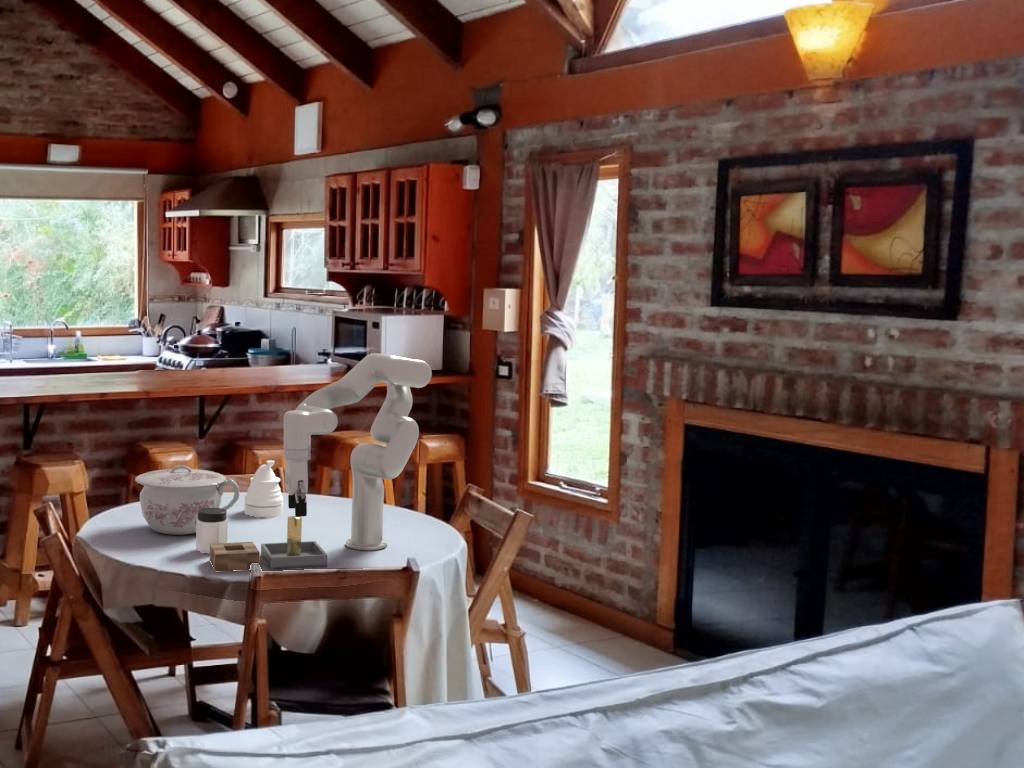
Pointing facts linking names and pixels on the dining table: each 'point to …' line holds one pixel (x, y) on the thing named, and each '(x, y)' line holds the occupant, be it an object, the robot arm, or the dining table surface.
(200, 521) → the jar
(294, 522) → the brass pin
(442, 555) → the dining table surface
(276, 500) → the honey pot
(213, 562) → the socket block
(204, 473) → the chamber pot
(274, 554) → the tray
